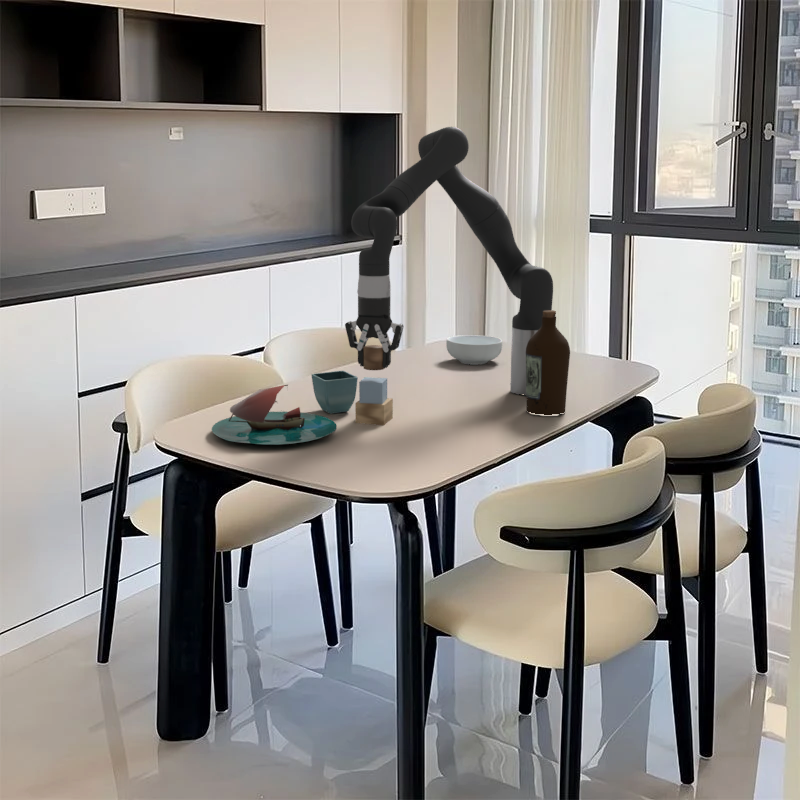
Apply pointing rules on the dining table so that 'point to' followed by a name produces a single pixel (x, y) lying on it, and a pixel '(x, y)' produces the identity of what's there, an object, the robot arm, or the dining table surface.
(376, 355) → the brown rounded cylinder
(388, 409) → the base block
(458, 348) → the cereal bowl
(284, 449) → the dining table surface
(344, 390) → the flower pot
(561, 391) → the olive oil
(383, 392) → the mid block
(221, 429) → the sailing ship model
